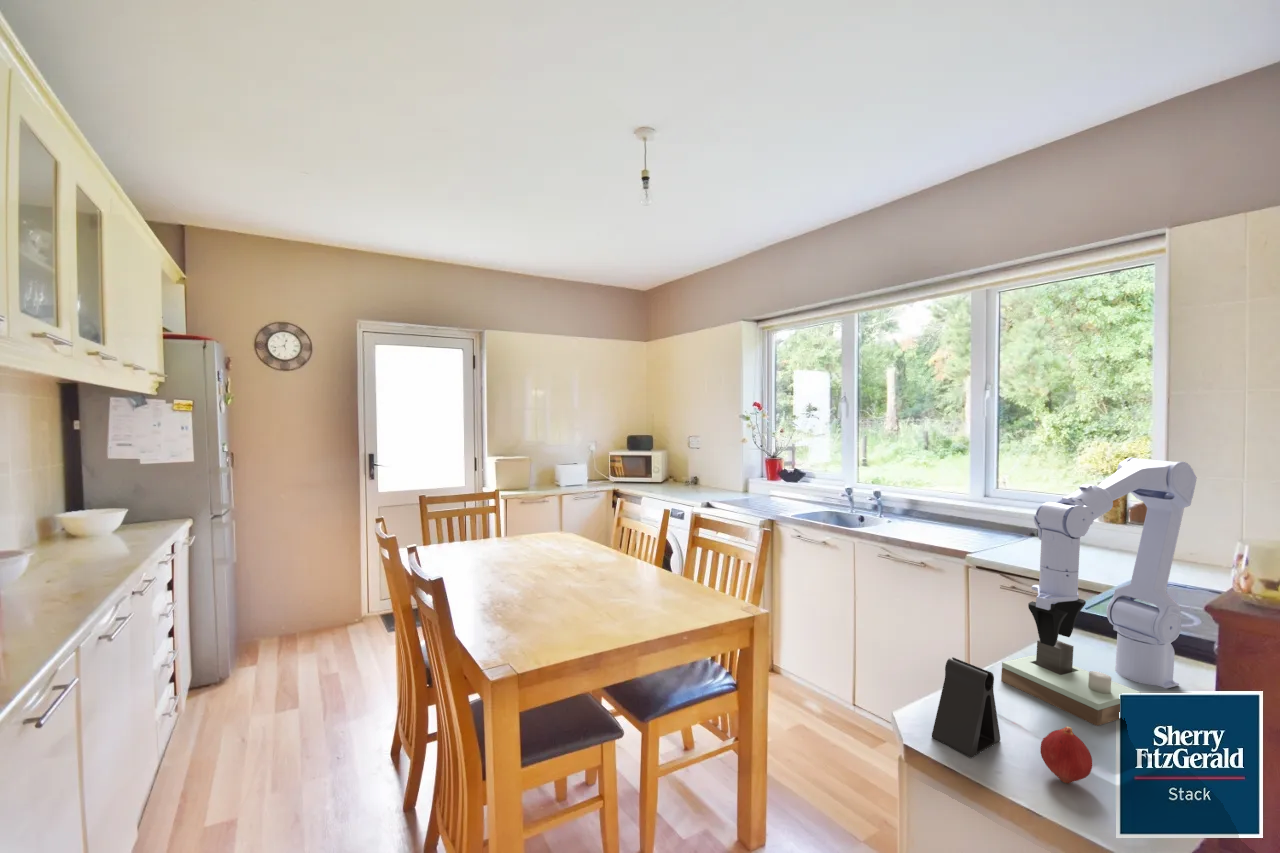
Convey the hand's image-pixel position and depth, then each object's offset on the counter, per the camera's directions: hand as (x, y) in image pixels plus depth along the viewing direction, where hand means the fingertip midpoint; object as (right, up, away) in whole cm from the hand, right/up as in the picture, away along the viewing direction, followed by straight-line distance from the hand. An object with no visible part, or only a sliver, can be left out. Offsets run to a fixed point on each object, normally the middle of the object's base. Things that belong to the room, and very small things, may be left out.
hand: (1055, 639), depth 103 cm
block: (+1, -9, +2) cm, 9 cm away
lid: (0, -7, -3) cm, 7 cm away
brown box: (0, -10, -2) cm, 11 cm away
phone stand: (-26, -10, -15) cm, 32 cm away
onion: (-18, -11, -25) cm, 32 cm away
